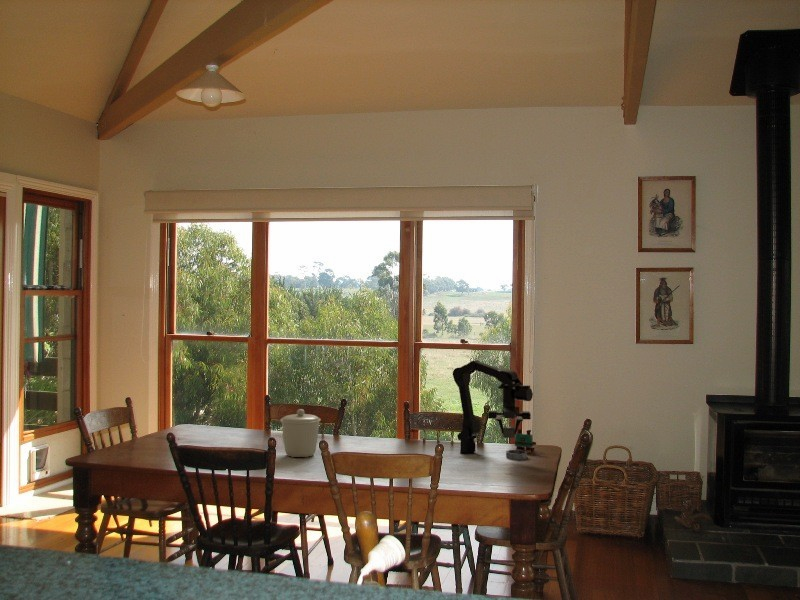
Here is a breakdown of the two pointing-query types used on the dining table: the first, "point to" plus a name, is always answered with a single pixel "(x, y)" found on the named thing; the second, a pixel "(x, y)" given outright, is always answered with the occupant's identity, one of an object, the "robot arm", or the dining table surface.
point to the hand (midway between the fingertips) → (509, 434)
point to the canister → (300, 434)
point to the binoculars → (524, 441)
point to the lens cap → (508, 432)
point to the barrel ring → (516, 454)
